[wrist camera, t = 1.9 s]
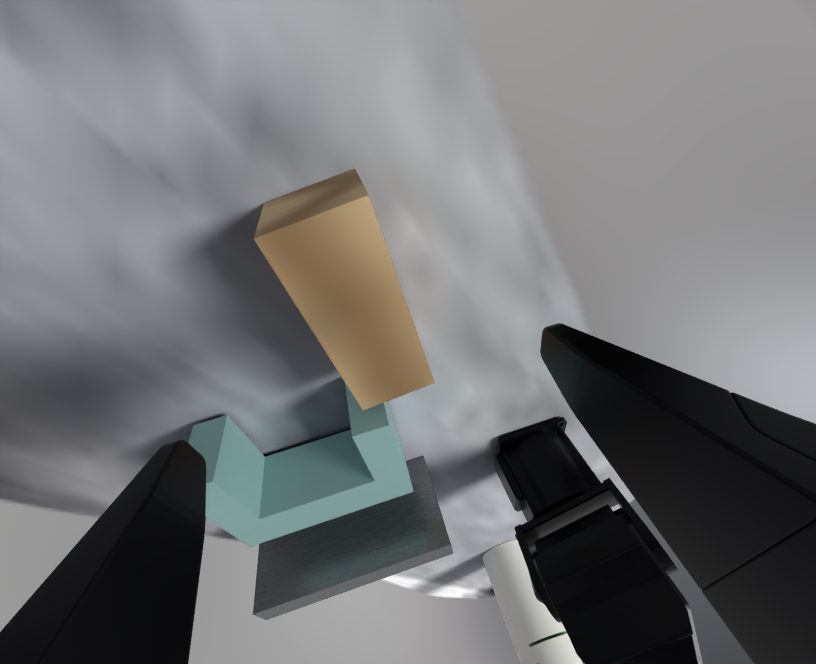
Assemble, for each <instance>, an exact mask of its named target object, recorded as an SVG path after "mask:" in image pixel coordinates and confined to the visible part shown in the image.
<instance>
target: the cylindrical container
mask: <svg viewBox="0 0 816 664" xmlns="http://www.w3.org/2000/svg"><path fill="white" fill-rule="evenodd" d="M482 560H483V562H484V565H485V568H486V570H487V573H488V576H489V579H490V581H491V584H492V587H493V590H494V592H495V595H496V598H497V601H498V603H499V606H500V609H501V611H502V614H503V617H504V619H505V623H506V625H507V628H508V631H509V633H510V636H511V639H512V642H513V644H514V647H515V650H516V652H517V655H518V658H519V660H520V663H521V664H583V663H582V661H581V659H580V658H579V657H578V655H577V654H576V652H575V649H574V647H573V645H572V643H571V640H570V638H569V636H568V634H565V633H567V632H566V630H565V628H564V626H563V624H562V622H561V623H558V622H557V621H556V620H555V619H554V618H553V616H552V615H551V614H550V612H549V611H548V609H547V607H546V606H545V605H544V604H543V603H541V602H540V601H538V600H537V598H536V597H535V594H534V591H533V587H532V583H531V579H530V575H529V571H528V568H527V565H526V563H525V560H524V557H523V554H522V551H521V549H520V546H519V543H518V541H517V540H512V541H508V542H505V543H502V544H500V545H498V546H495V547H494V548H492V549H490V550H489V551H487V552H486V553H485V554H484V555H483V556H482Z"/></svg>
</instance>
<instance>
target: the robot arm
mask: <svg viewBox="0 0 816 664" xmlns="http://www.w3.org/2000/svg"><path fill="white" fill-rule="evenodd" d="M540 352H541V357H542V359H543V361H544V363H545V364H546V366H547V368H548V370H549V372H550V373H551V375H552V377H553V379H554V380H555V382H556V384H557V386H558V388H559V389H560V391H561V393H562V395H563V396H564V398H565V400H566V402H567V403H568V405H569V407H570V408H571V410H572V411H573V413H574V414H575V416H576V417H577V418H578V420H579V421H580V423H581V424H582V425H583V427H584V428H585V430H586V431H587V432H588V434H589V435H590V437H591V438H592V439H593V441H594V442H595V443H596V445H597V446H598V448H599V449H600V450H601V452H602V453H603V455H604V456H605V457H606V459H607V460H608V462H609V463H610V464H611V466H612V467H613V468H614V470H615V471H616V473H617V474H618V475H619V477H620V478H621V480H622V481H623V482H624V484H625V485H626V486H627V488H628V489H629V491H630V492H631V493H632V495H633V496H634V498H635V499H636V500H637V502H638V503H639V505H640V506H641V507H642V509H643V510H644V511H645V513H646V514H647V516H648V517H649V518H650V520H651V521H652V523H653V524H654V525H655V527H656V528H657V529H658V531H659V532H660V533H661V535H662V536H663V538H664V539H665V541H666V542H667V543H668V545H669V546H670V547H671V549H672V550H673V552H674V553H675V554H676V556H677V557H678V559H679V560H680V561H681V563H682V564H683V565H684V567H685V568H686V570H687V571H688V573H689V574H690V575H691V576H692V578H693V579H694V581H695V582H696V583H697V585H698V586H699V588H700V589H702V592H703V594H704V595H705V596H706V598H707V599H708V600H709V602H710V603H711V605H712V606H713V608H714V609H715V610H716V612H717V613H718V615H719V616H720V617H721V619H722V620H723V622H724V623H725V624H726V626H727V627H728V628H729V630H730V631H731V632H732V634H733V635H734V637H735V638H736V639H737V641H738V642H739V644H740V645H741V646H742V648H743V649H744V651H745V652H746V653H747V655H748V656H749V658H750V659H751V660H752V662H753V663H754V664H816V424H815V423H812V422H809V421H806V420H803V419H801V418H798V417H795V416H792V415H789V414H787V413H784V412H782V411H779V410H777V409H774V408H771V407H769V406H766V405H763V404H761V403H758V402H756V401H753V400H751V399H748V398H746V397H743V396H741V395H738V394H736V393H730V392H729V391H728V390H726V389H723V388H721V387H718V386H716V385H713V384H711V383H708V382H706V381H703V380H701V379H698V378H696V377H693V376H691V375H688V374H686V373H683V372H681V371H678V370H676V369H673V368H671V367H668V366H666V365H664V364H661V363H659V362H656V361H653V360H651V359H648V358H646V357H643V356H641V355H639V354H636V353H634V352H631V351H629V350H626V349H623V348H621V347H619V346H616V345H614V344H611V343H609V342H606V341H604V340H601V339H599V338H596V337H594V336H591V335H589V334H586V333H584V332H581V331H579V330H576V329H574V328H571V327H569V326H567V325H564V324H560V323H558V324H554V325H551V326H548V327H545V328H544V330H543V332H542V341H541V349H540ZM566 424H567V421H566V420H565V419H564V418H563V417H560V418H557V419H554V420H551V421H548V422H545V423H542V424H539V425H536V426H533V427H530V428H527V429H524V430H521V431H518V432H515V433H512V434H509V435H506V436H503V437H501V438H499V439H498V443H497V456H496V472H497V474H498V476H499V478H500V480H501V482H502V484H503V487H504V489H505V491H506V493H507V495H508V497H509V499H510V501H511V503H512V505H513V507H514V509H515V510H516V511H521V510H522V512H523V514H524V516H525V518H526V520H527V522H526V523H525V524H523V525H518V526H516V527H515V531H516V535H515V536H516V538H517V541H518V543H519V546H520V549H521V551H522V554H523V557H524V560H525V563H526V565H527V568H528V571H529V575H530V579H531V583H532V587H533V591H534V594H535V597H536V598H537V600H538V601H540V602H541V603H543V604H544V605H545V606H546V607H547V609H548V611H549V612H550V614H551V615H552V616H553V618H554V619H555V620H556V621H557V622H558V623H561V622H562V624H563V626H564V628H565V630H566V632H567V634H568V636H569V638H570V640H571V643H572V645H573V647H574V649H575V652H576V654H577V655H578V657H579V658H580V659H581V660H582V661H583V662H584V663H585V664H703V663H702V658H701V654H700V649H699V645H698V640H697V636H696V632H695V627H694V622H693V618H692V614H691V610H690V607H689V604H688V603H687V601H686V599H685V598H684V596H683V595H682V594H681V593H680V591H679V590H678V588H677V587H676V585H675V584H674V583H673V581H672V580H671V579H670V577H669V576H668V575H669V574H671V573H673V572H676V571H678V569H677V567H676V566H675V564H674V563H673V562H672V560H671V559H670V557H669V556H668V555H667V553H666V552H665V550H664V549H663V548H662V546H661V545H660V544H659V542H658V541H657V540H656V538H655V537H654V536H653V534H652V533H651V532H650V530H649V529H648V528H647V526H646V525H645V524H644V522H643V521H642V520H641V519H640V517H639V516H638V515H637V513H636V512H635V511H634V509H633V508H632V507H631V506H630V504H629V503H628V502H627V500H626V499H625V498H624V496H623V495H622V494H621V492H620V491H619V490H618V489H617V487H616V486H615V485H614V483H613V482H612V481H611V479H610V478H608V479H606V480H604V481H603V483H601V482H600V481H599V479H598V478H597V477H596V475H595V474H594V472H593V471H592V470H591V468H590V467H589V466H588V464H587V463H586V461H585V460H584V459H583V457H582V456H581V454H580V453H579V452H578V450H577V449H576V447H575V446H574V445H573V443H572V442H571V441H570V439H569V438H568V436H567V435H566V434H565V428H566ZM617 504H619V505H620V507H621V508H620V509H618V510H616V511H614V512H613V511H612V509H611V507H613V506H615V505H617ZM205 519H206V461H205V459H204V457H203V456H202V455H201V454H200V453H199V452H198V451H197V450H196V449H194V448H193V447H192V446H191V445H190V444H189V443H188V442H186V441H184V440H178V441H175V442H171V443H168V444H165V445H163V446H162V447H161V448H160V449H159V450H158V451H157V452H156V453H155V454H154V456H153V457H152V458H151V459H150V460H149V461H148V463H147V464H146V465H145V466H144V467H143V468H142V469H141V471H140V472H139V473H138V474H137V475H136V476H135V477H134V479H133V480H132V481H131V482H130V483H129V484H128V486H127V487H126V488H125V489H124V490H123V491H122V492H121V494H120V495H119V496H118V497H117V498H116V499H115V501H114V502H113V503H112V504H111V505H110V506H109V507H108V509H107V510H106V511H105V512H104V513H103V514H102V516H101V517H100V518H99V519H98V520H97V521H96V522H95V524H94V525H93V526H92V527H91V528H90V529H89V530H88V532H87V533H86V534H85V535H84V536H83V537H82V539H81V540H80V541H79V542H78V543H77V544H76V545H75V547H74V548H73V549H72V550H71V551H70V552H69V554H68V555H67V556H66V557H65V558H64V559H63V560H62V562H61V563H60V564H59V565H58V566H57V567H56V569H55V570H54V571H53V572H52V573H51V574H50V575H49V577H48V578H47V579H46V580H45V581H44V582H43V583H42V585H41V586H40V587H39V588H38V589H37V590H36V591H35V593H34V594H33V595H32V596H31V597H30V598H29V600H28V601H27V602H26V603H25V604H24V605H23V606H22V608H21V609H20V610H19V611H18V612H17V613H16V614H15V616H14V617H13V618H12V619H11V620H10V622H9V623H8V624H7V625H6V626H5V627H4V628H3V629H2V631H1V632H0V664H188V661H189V653H190V645H191V637H192V629H193V621H194V614H195V605H196V597H197V589H198V582H199V575H200V566H201V559H202V551H203V543H204V534H205Z"/></svg>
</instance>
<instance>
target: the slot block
mask: <svg viewBox="0 0 816 664" xmlns="http://www.w3.org/2000/svg"><path fill="white" fill-rule="evenodd" d="M345 388H346V396H347V403H348V410H349V418H350V425H351V430H348V431H345V432H342V433H339V434H335V435H332V436H329V437H326V438H323V439H320V440H317V441H313V442H310V443H307V444H304V445H301V446H298V447H295V448H291V449H288V450H285V451H282V452H279V453H276V454H272V455H269V456H266V457H265V456H264V455H263V454H262V453H261V452H260V451H259V450H258V449H257V448H256V446H255V445H254V444H253V443H252V442H251V441H250V440H249V439H248V437H247V436H246V435H245V434H244V433H243V432H242V431H241V430H240V429H239V427H238V426H237V425H236V424H235V423H234V422H233V421H232V420H231V418H230V417H229V416H228V415H225V416H222V417H219V418H216V419H212V420H209V421H206V422H202V423H199V424H196V425H194V426H193V429H192V432H191V435H190V439H189V442H188V443H189V444H190V445H191V446H192V447H193V448H194V449H196V450H197V451H198V452H199V453H200V454H201V455H202V456H203V457H204V459H205V461H206V518H208V519H209V520H211V521H212V522H214V523H215V524H217V525H218V526H220V527H221V528H223V529H224V530H225V531H227V532H228V533H230V534H231V535H233V536H234V537H236V538H237V539H239V540H240V541H242V542H243V543H245V544H246V545H248V546H249V547H251V546H254V545H257V544H260V543H263V542H266V541H269V540H272V539H275V538H278V537H281V536H284V535H287V534H290V533H293V532H296V531H298V530H301V529H304V528H307V527H310V526H313V525H316V524H319V523H322V522H325V521H328V520H331V519H334V518H337V517H340V516H343V515H346V514H349V513H352V512H355V511H358V510H361V509H364V508H367V507H370V506H372V505H375V504H378V503H381V502H384V501H387V500H390V499H393V498H396V497H399V496H402V495H405V494H408V493H411V492H414V491H413V487H412V483H411V480H410V476H409V472H408V468H407V464H406V460H405V457H404V453H403V449H402V445H401V441H400V438H399V435H398V432H397V429H396V426H395V424H394V421H393V418H392V415H391V412H390V409H389V406H388V403H387V401H386V402H384V403H381V404H378V405H376V406H373V407H371V408H368V409H366V410H362V408H361V406H360V405H359V403H358V402H357V400H356V399H355V397H354V396H353V394H352V392H351V391H350V389H349V388H348V386H347V385H346V383H345Z"/></svg>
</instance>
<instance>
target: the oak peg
mask: <svg viewBox="0 0 816 664" xmlns="http://www.w3.org/2000/svg"><path fill="white" fill-rule="evenodd" d="M254 240H255V242H256V243H257V245H258V246H259V248H260V250H261V251H262V253H263V254H264V256H265V257H266V259H267V261H268V262H269V264H270V265H271V267H272V268H273V270H274V272H275V273H276V275H277V276H278V278H279V279H280V281H281V283H282V284H283V286H284V287H285V289H286V290H287V292H288V294H289V295H290V297H291V298H292V300H293V301H294V303H295V305H296V306H297V308H298V309H299V311H300V312H301V314H302V316H303V317H304V319H305V320H306V322H307V323H308V325H309V326H310V328H311V330H312V331H313V333H314V334H315V336H316V337H317V339H318V341H319V342H320V344H321V345H322V347H323V348H324V350H325V352H326V353H327V355H328V356H329V358H330V359H331V361H332V363H333V364H334V366H335V367H336V369H337V370H338V372H339V374H340V375H341V377H342V378H343V380H344V381H345V383H346V385H347V386H348V388H349V389H350V391H351V392H352V394H353V396H354V397H355V399H356V400H357V402H358V403H359V405H360V406H361V408H362V410H366V409H368V408H371V407H373V406H376V405H378V404H381V403H384V402H386V401H389V400H391V399H394V398H397V397H399V396H402V395H404V394H407V393H409V392H412V391H415V390H417V389H420V388H422V387H425V386H428V385H430V384H433V383H435V382H434V380H433V377H432V374H431V371H430V368H429V365H428V362H427V360H426V357H425V354H424V351H423V348H422V345H421V343H420V340H419V337H418V334H417V331H416V328H415V326H414V323H413V320H412V317H411V314H410V311H409V309H408V306H407V303H406V300H405V297H404V294H403V291H402V289H401V286H400V283H399V280H398V277H397V274H396V272H395V269H394V266H393V263H392V260H391V257H390V255H389V252H388V249H387V246H386V243H385V240H384V238H383V235H382V232H381V229H380V226H379V223H378V220H377V218H376V215H375V212H374V209H373V206H372V203H371V201H370V198H369V195H368V193H367V191H366V189H365V187H364V185H363V183H362V181H361V180H360V178H359V176H358V174H357V172H356V170H355V169H352V170H350V171H347V172H344V173H342V174H339V175H337V176H334V177H331V178H329V179H326V180H323V181H321V182H318V183H315V184H313V185H310V186H308V187H305V188H302V189H300V190H297V191H294V192H292V193H289V194H287V195H284V196H281V197H279V198H276V199H273V200H271V201H268V202H266V203H264V205H263V208H262V212H261V215H260V219H259V222H258V225H257V229H256V232H255V236H254Z"/></svg>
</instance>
